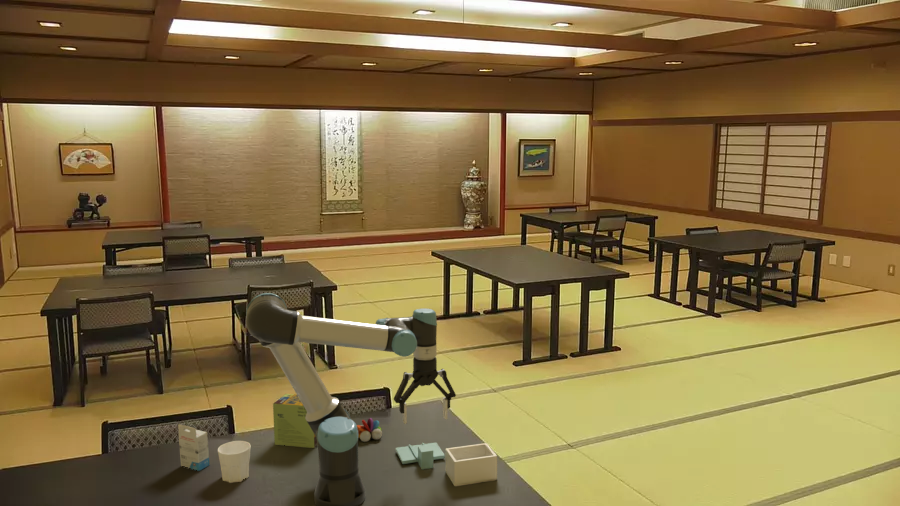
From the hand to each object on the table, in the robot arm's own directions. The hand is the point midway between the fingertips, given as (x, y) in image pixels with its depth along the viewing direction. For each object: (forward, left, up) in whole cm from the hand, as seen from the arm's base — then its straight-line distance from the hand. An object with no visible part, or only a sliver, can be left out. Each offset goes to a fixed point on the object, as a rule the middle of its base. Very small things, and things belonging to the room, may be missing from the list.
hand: (425, 420), depth 223 cm
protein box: (-38, +33, -16) cm, 53 cm away
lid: (0, +6, -16) cm, 17 cm away
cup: (-60, +11, -16) cm, 63 cm away
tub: (+12, -11, -16) cm, 23 cm away
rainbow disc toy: (-14, +29, -16) cm, 36 cm away
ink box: (-73, +23, -16) cm, 78 cm away
